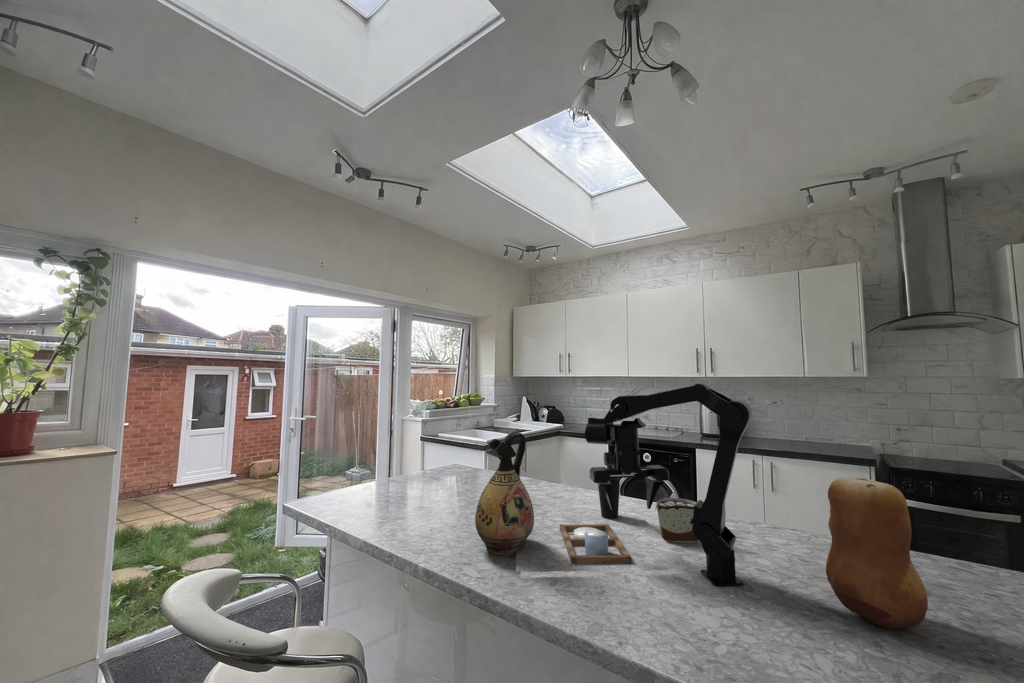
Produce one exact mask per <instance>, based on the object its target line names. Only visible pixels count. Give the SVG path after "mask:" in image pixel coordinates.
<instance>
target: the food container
mask: <svg viewBox="0 0 1024 683" xmlns="http://www.w3.org/2000/svg"><path fill="white" fill-rule="evenodd" d="M697 502H698V501H697ZM697 502H696V501H693V500H691V499H686V498H677V497H667V498H660V499H658V500H657V501H656V503H655V507H654V511H655V512H657V516H658V523H659V531H660V536H661V538H662V539H663V540H664V541H665V542H666V541H673V542H672V543H694V542H698V543H699V540H698V539H697V538H696V537H695V535H694V534H693V531H692V526H693V524H690V521H691V520H692V518H693V512H694V506H695V504H696V503H697ZM675 541H676V542H675Z"/></svg>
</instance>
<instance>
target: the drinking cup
mask: <svg viewBox="0 0 1024 683" xmlns="http://www.w3.org/2000/svg"><path fill="white" fill-rule="evenodd" d="M606 468H607V469H608V470H610V465H606ZM609 482H610V483H611V484H612V491H613V501H614V510H611V508H610V505H609V502H608V500H607V497H606V494H605V492H604V490H603V488H602V486H599V485H598V484H597V487H598V497H599V504H600V506H599V507H600V516H601V517H602V518H603V519H606V520H616V519H618V517H619V508H620V507H619V505H620V502H619V501H620V486H621V485H620V484H621V478H610V480H609Z"/></svg>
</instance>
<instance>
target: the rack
mask: <svg viewBox="0 0 1024 683" xmlns="http://www.w3.org/2000/svg"><path fill="white" fill-rule="evenodd" d="M580 527H591V528H596V529H598V530H600V531H604V532H606V533H607V534H608V546H615V548H616V549H617V551H618V553H619V554H608V555H586V554H584V555H583V554H582V555H581V554H579V555H576V551H575V550H574V548H573V547H574V546H577V547H578V546H579V547H581V546H585V539H576V538H569V537H570V536H571V535H573V536H574V533H568V532H574V530H575V529H577V528H580ZM559 531H560V534H561V537H562V540H563V543H564V547H565V549H566V552H567V554H568V557H569V560H570V563H571V565H573V564H577V565H578V564H579V565H580V564H632V556H631V555H630V553H629V552H628V550H627V549H626V547H625V546H624V545H623V543H622V541H621V540H620V539H619V537H618V535H616V533H615V532H614V530H613V528H612V527H611V526H610V525H609V524H607V523H606V524H605V523H603V524H602V523H601V524H600V523H599V524H597V523H596V524H559Z"/></svg>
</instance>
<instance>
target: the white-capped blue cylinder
mask: <svg viewBox="0 0 1024 683" xmlns="http://www.w3.org/2000/svg"><path fill="white" fill-rule="evenodd" d="M608 538H609V536H608V534H607V533H606V531H600V530H589V531H586V532H585V547H584V553H585V554H584V555H609V545H608Z"/></svg>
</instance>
